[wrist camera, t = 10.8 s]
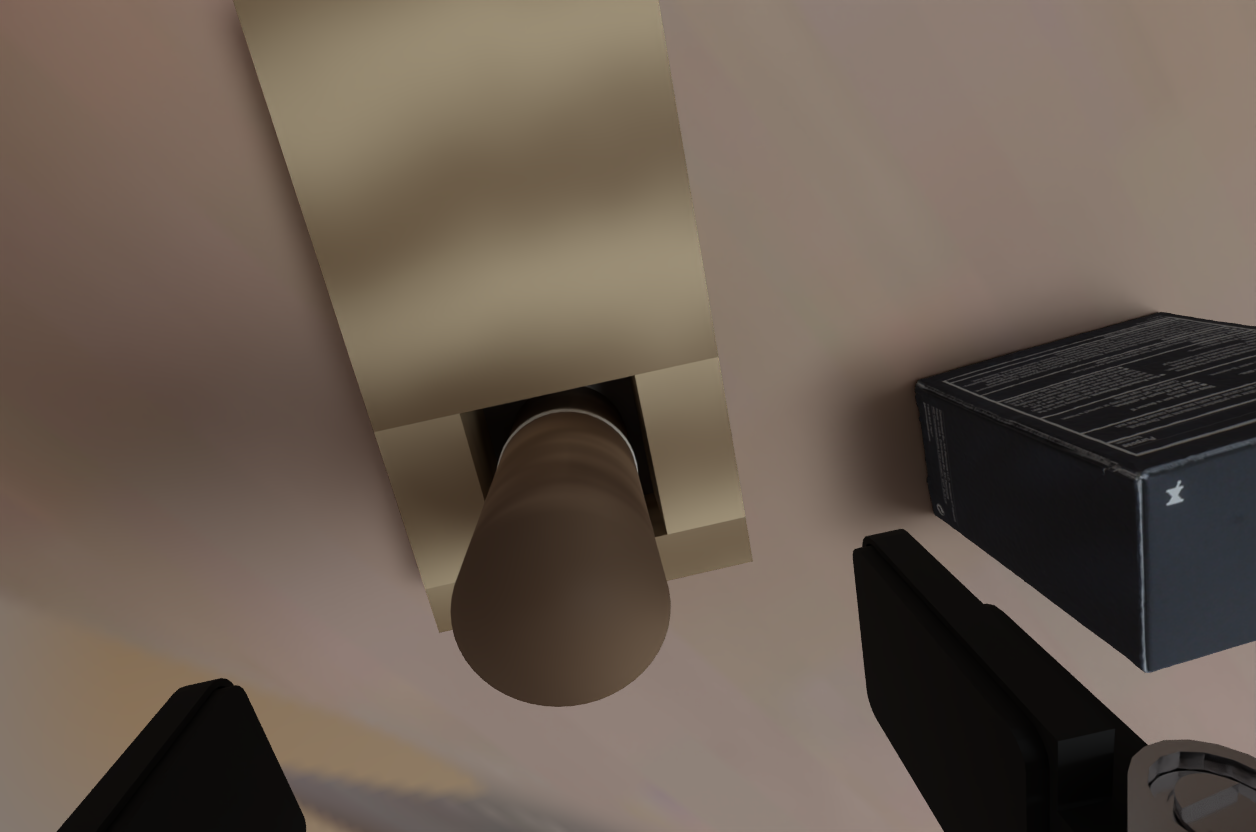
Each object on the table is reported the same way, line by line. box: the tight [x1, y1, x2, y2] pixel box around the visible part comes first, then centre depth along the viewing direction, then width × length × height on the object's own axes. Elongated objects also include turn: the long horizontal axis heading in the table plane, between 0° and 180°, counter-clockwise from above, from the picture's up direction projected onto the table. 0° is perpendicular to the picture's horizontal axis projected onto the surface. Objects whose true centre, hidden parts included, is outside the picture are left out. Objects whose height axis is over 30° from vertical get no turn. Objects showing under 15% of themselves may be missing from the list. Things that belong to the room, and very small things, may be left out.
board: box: [233, 0, 753, 633], centre depth 21 cm, size 20×11×4 cm, turn 12°
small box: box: [915, 312, 1256, 673], centre depth 21 cm, size 11×6×10 cm, turn 105°
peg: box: [450, 386, 671, 707], centre depth 19 cm, size 4×4×12 cm
